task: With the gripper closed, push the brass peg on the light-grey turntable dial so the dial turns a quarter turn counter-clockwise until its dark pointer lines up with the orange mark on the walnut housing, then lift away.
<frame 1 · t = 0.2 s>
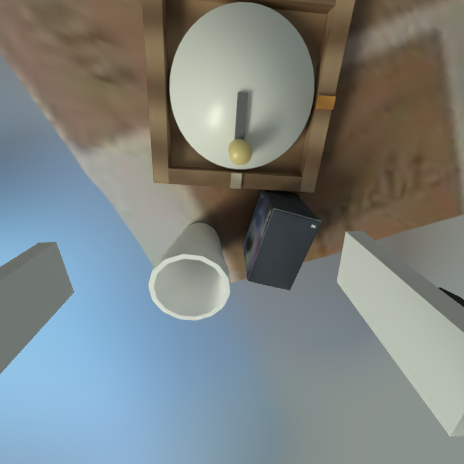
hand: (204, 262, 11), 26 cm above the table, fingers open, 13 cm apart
dial: (243, 94, 27), point 5 cm above the table, hinge at 0.0°
foam cup: (199, 239, 40), on the table
housing: (240, 98, 32), on the table
small box: (268, 220, 39), on the table
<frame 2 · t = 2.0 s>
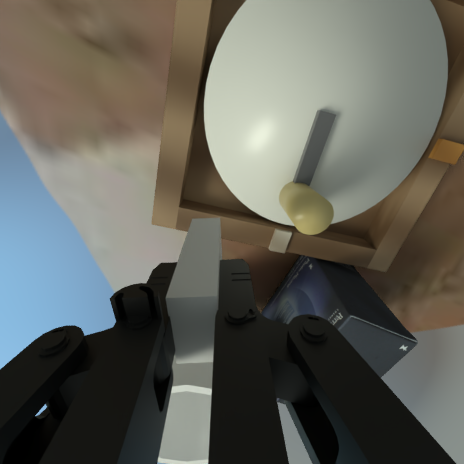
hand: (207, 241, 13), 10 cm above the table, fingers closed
dial: (330, 116, 16), point 5 cm above the table, hinge at 0.0°
foam cup: (203, 299, 28), on the table
housing: (307, 118, 20), on the table
small box: (302, 288, 28), on the table
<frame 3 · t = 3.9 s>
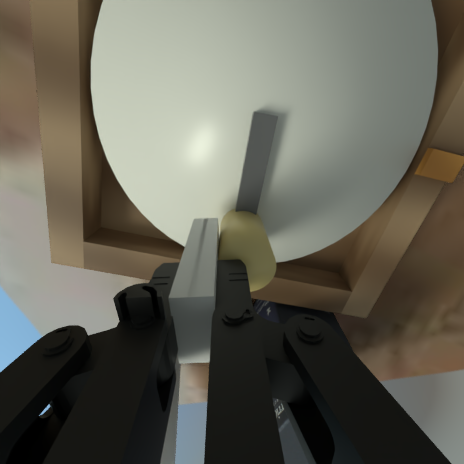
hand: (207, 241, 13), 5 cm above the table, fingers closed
dial: (266, 120, 11), point 5 cm above the table, hinge at 3.3°, touching gripper
foam cup: (149, 341, 23), on the table
housing: (255, 121, 15), on the table
small box: (269, 328, 23), on the table
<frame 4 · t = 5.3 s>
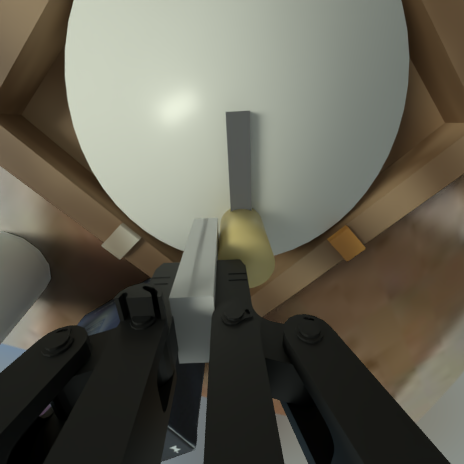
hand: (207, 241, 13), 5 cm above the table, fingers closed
dial: (238, 117, 11), point 5 cm above the table, hinge at 48.7°, touching gripper
foam cup: (12, 264, 20), on the table
housing: (235, 119, 16), on the table
small box: (148, 310, 22), on the table
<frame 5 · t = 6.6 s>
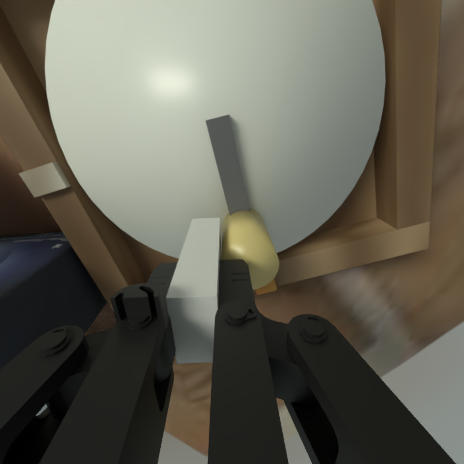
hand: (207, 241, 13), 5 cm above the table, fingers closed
dial: (218, 123, 11), point 5 cm above the table, hinge at 87.0°
housing: (220, 124, 16), on the table
small box: (45, 263, 20), on the table
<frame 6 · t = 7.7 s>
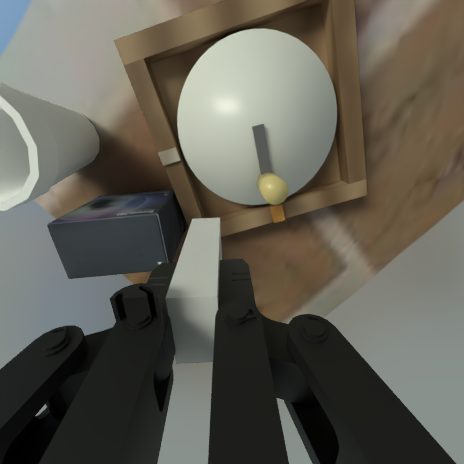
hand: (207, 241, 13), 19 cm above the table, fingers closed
dial: (259, 128, 25), point 5 cm above the table, hinge at 87.0°
foam cup: (73, 138, 29), on the table
housing: (253, 128, 29), on the table
small box: (143, 212, 33), on the table
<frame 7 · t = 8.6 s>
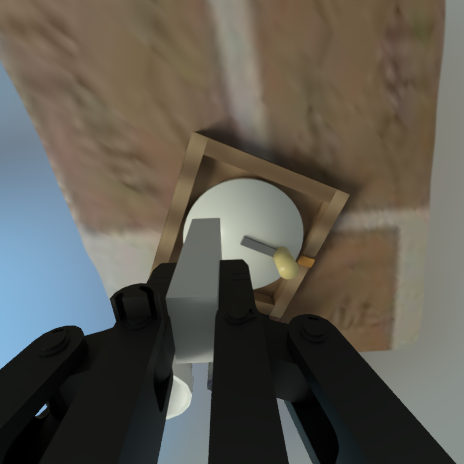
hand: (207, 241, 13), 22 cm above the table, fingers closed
dial: (244, 243, 33), point 5 cm above the table, hinge at 87.0°
foam cup: (173, 323, 44), on the table
housing: (241, 231, 37), on the table
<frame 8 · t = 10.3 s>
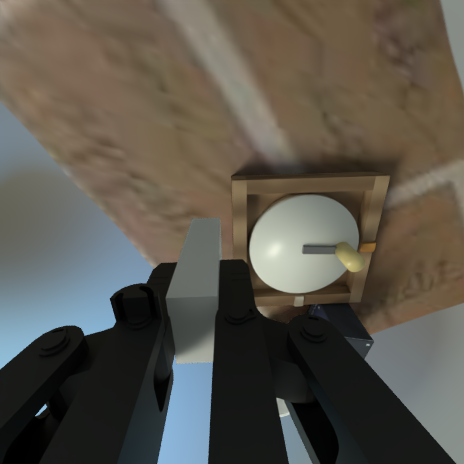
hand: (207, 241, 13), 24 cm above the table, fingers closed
dial: (306, 252, 36), point 5 cm above the table, hinge at 87.0°
housing: (297, 239, 41), on the table
small box: (320, 314, 48), on the table
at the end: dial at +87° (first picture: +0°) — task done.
